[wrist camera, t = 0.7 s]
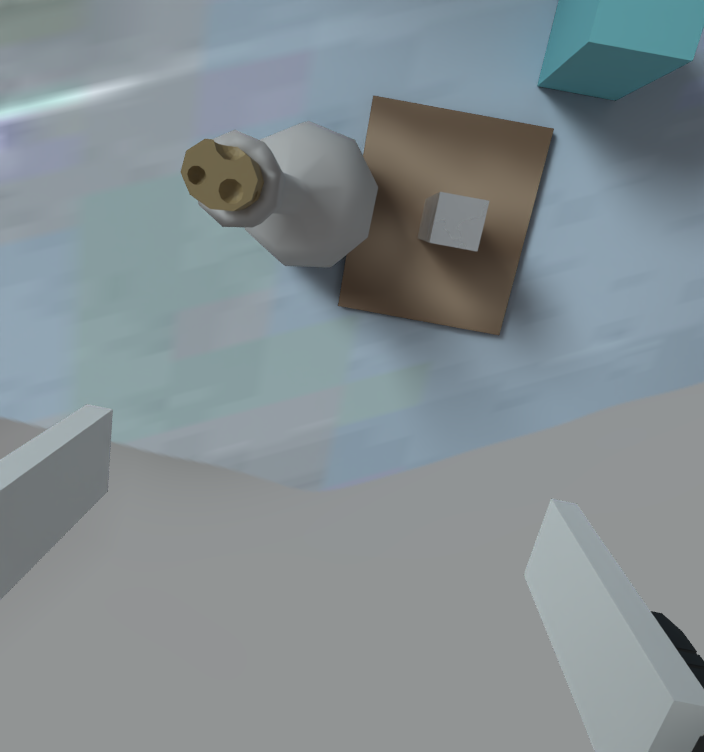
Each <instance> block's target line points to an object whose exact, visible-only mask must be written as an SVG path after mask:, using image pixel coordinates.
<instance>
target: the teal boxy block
mask: <svg viewBox="0 0 704 752" xmlns="http://www.w3.org/2000/svg"><path fill="white" fill-rule="evenodd" d="M703 27H704V0H559V1H558V5H557V9H556V13H555V17H554V21H553V25H552V29H551V33H550V37H549V41H548V45H547V49H546V53H545V57H544V61H543V65H542V69H541V73H540V77H539V81H538V85H537V86H539V87H545V88H550V89H556V90H561V91H566V92H572V93H577V94H583V95H588V96H594V97H599V98H604V99H610V100H615V101H616V100H618V99H620V98H622V97H624V96H626V95H627V94H629V93H631V92H633V91H635V90H637V89H639V88H641V87H643V86H645V85H647V84H649V83H651V82H653V81H655V80H656V79H658V78H660V77H662V76H664V75H666V74H668V73H670V72H672V71H674V70H676V69H678V68H680V67H682V66H684V65H685V64H687V63H689V62H691V61H693V58H694V55H695V52H696V49H697V46H698V42H699V39H700V36H701V33H702V30H703Z"/></svg>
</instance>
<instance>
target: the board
mask: <svg viewBox="0 0 704 752" xmlns="http://www.w3.org/2000/svg"><path fill="white" fill-rule="evenodd" d="M553 130H554V129H553V128H547V127H542V126H536V125H531V124H525V123H520V122H514V121H509V120H504V119H498V118H493V117H487V116H482V115H476V114H471V113H465V112H460V111H455V110H449V109H444V108H438V107H433V106H427V105H422V104H417V103H411V102H406V101H400V100H395V99H389V98H384V97H378V96H373V100H372V106H371V112H370V118H369V124H368V130H367V136H366V142H365V148H364V154H363V157H364V159H365V161H366V163H367V165H368V167H369V169H370V171H371V173H372V175H373V177H374V180H375V182H376V184H377V186H378V190H377V195H376V200H375V205H374V210H373V215H372V219H371V224H370V229H369V234H368V238H366V239H365V240H364V241H363V242H362V243H360V244H359V245H358V246H357V247H355V248H354V249H353V250H352V251H351V252H349V253H348V254H347V255H346V261H345V267H344V273H343V279H342V285H341V291H340V297H339V303H338V306H342V307H347V308H353V309H358V310H364V311H369V312H375V313H380V314H386V315H391V316H396V317H402V318H407V319H413V320H418V321H424V322H429V323H435V324H440V325H446V326H451V327H457V328H462V329H467V330H473V331H478V332H484V333H489V334H495V335H499V334H500V330H501V327H502V323H503V319H504V315H505V311H506V308H507V304H508V300H509V296H510V293H511V289H512V285H513V281H514V277H515V274H516V270H517V266H518V262H519V259H520V255H521V251H522V247H523V243H524V240H525V236H526V232H527V228H528V225H529V221H530V217H531V213H532V209H533V206H534V202H535V198H536V194H537V191H538V187H539V183H540V179H541V175H542V172H543V168H544V164H545V160H546V157H547V153H548V149H549V145H550V141H551V138H552V134H553ZM439 192H444V193H450V194H455V195H461V196H466V197H472V198H477V199H483V200H488V201H489V205H488V210H487V214H486V218H485V222H484V226H483V230H482V235H481V239H480V243H479V247H478V251H472V250H466V249H461V248H455V247H450V246H445V245H439V244H434V243H429V242H426V241H424V240H421V239H419V238H418V233H419V228H420V223H421V218H422V213H423V209H424V204H425V199H427V198H429V197H431V196H433V195H435V194H437V193H439Z"/></svg>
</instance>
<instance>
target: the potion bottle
mask: <svg viewBox="0 0 704 752" xmlns="http://www.w3.org/2000/svg"><path fill="white" fill-rule="evenodd" d="M181 174H182V177H183V179H184V181H185V184H186V186H187V189H188V191H189V193H190V195H191V196H193V197H194V198H196V199H197V200H198V203H199V205H200V206H201V207H202V208H203V209H204V210H205V211H206V212H207V213H208V214H209V215H210V216H212V217H213V218H214V219H215V220H216V221H217V222H218V223H219V224H220V225H221V226H222V227H245V230H246V231H247V232H248V233H249V234H250V235H251V236H252V237H254V238H255V239H256V240H257V241H258V242H259V243H260V244H261V245H262V246H263V247H264V248H266V249H267V250H268V251H269V252H270V253H271V254H272V255H273V256H274V257H275V258H276V259H278V260H279V261H280V262H281V263H282V264H283V265H285V266H303V267H328V268H331V267H332V266H333V265H335V264H336V263H337V262H338V261H339V260H341V259H342V258H343V257H344V256H346V255H347V254H348V253H349V252H351V251H352V250H353V249H354V248H355V247H357V246H358V245H359V244H360V243H362V242H363V241H364V240H365V239H366V238H368V234H369V229H370V224H371V219H372V215H373V210H374V205H375V200H376V195H377V190H378V186H377V184H376V182H375V180H374V177H373V175H372V173H371V171H370V169H369V167H368V165H367V163H366V161H365V159H364V157H363V155H362V153H361V151H360V149H359V147H358V145H357V143H356V141H355V140H354V139H351V138H349V137H346V136H344V135H342V134H339V133H337V132H334V131H332V130H329V129H327V128H325V127H322V126H320V125H317V124H315V123H312V122H310V121H307V122H303V123H300V124H298V125H295V126H293V127H290V128H288V129H285V130H283V131H280V132H278V133H275V134H273V135H270V136H268V137H266V138H263V139H261V140H258V139H255V138H253V137H251V136H248V135H246V134H243V133H241V132H239V131H236V130H233V131H231V132H229V133H226V134H224V135H221V136H219V137H216V138H214V139H204V140H203V141H201V142H199V143H198V144H196V145H195V146H193V147H191V148H190V149H188V150H187V151H186V154H185V158H184V161H183V165H182V169H181Z"/></svg>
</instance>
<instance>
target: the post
mask: <svg viewBox="0 0 704 752" xmlns="http://www.w3.org/2000/svg"><path fill="white" fill-rule="evenodd" d="M488 205H489V201H488V200H483V199H477V198H472V197H466V196H461V195H455V194H450V193H444V192H439V193H437V194H435V195H433V196H431V197H429V198H427V199H425V204H424V209H423V213H422V218H421V223H420V228H419V233H418V238H419V239H421V240H424V241H426V242H429V243H434V244H439V245H445V246H450V247H455V248H461V249H466V250H472V251H478V247H479V243H480V239H481V235H482V230H483V226H484V222H485V218H486V214H487V210H488Z"/></svg>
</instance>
